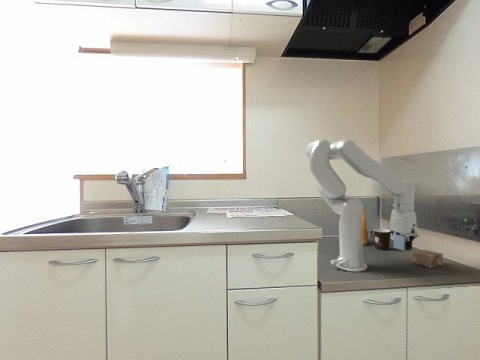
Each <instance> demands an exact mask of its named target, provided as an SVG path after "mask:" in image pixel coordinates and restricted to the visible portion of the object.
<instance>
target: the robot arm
mask: <svg viewBox="0 0 480 360" xmlns="http://www.w3.org/2000/svg"><path fill="white" fill-rule="evenodd" d="M305 155H306V156H307V157H308V158H309V169H310V171H311V174H312V175H313V177H314V178H315V180H316V181H317V183H318V184H317V190H318V192H319V194H320V196H321V198H322V199H323V200H324V201H325V202H326V203H327V205H328V206H329V207H330V209H331V210H332V211H333V212H334V213H335V214H338V215H340V218H339V221H338V233H339V234H338V235H339V237H338V240H339V241H338V242H339V244H338V245H339V255H338V256H337V258H336V259H331V260H330V264H331V265H336V267H337V268H338V269H340V270H344V271H348V272H364V271H366V270H367V269H368V265H367V263H365V262H364V254H363V251H364V249H363V247H364V245H363V244H362V218H363V211H364V210H365V207H364V204H363V202H362V201H361V200H360V199H359V198H357V197H355V196H353V195H352V196H351V195H346V192H347V186H346V184H345V182H344V180H342V179H341V177H340V176H339V175H338V173H337V172H336V171H335V170H334V168H333V167H332V165H331V163H330V160H331V161H332V160H342V161H344V162H345V163H346V164H347V165H348V166H350V168H352V169H353V171H355V172H356V173H357V174H359V175H361V176H363V177H366V178H369V179H371V180H373V181H376V182H375V184H374V190H375V192H376V193H377V194H379V195H381V196H385V197H386V196H387V197H394V202H393V204H392V207H393V209H392V211H391V213H390V218H389V219H390V220H389V226H388V229H387V230H390V232H391V234H392V235H391V236H392V237H393V238H394V234H404V235H406V239H407V241H405V250H404V251H412V250H413V241H415V239H416V238H418V237H420V233H419V231H418V229H417V228H418V226H417V225H418V224H417V216H416V215H417V214H416V211H415V189H416V185H415V184H416V183H415V181H414V180H411V179H402V178H401V177H400V176H399V175H398V174H397V173H395V172H394V171H393V170H392V169H390V168H388V167H387V166H385V165H383V164H382V163H380V162H378V161H377V160H374V159H373V158H372V157H371V156H370V155H369V154H367V153H366V152H365V151H364V150H363V149H362V148H361V147H360V146H359V145H358V144H356V143H355V142H354V141H353V140H351V139H350V138H343V139H340V140H337V141H329V140H328V139H325V138H319V139H316V140H313V141H312V142H310V143H308V144H307V145H306V148H305ZM363 207H364V208H363ZM409 236H410V237H409ZM411 249H412V250H411Z"/></svg>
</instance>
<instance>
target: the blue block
mask: <svg viewBox="0 0 480 360" xmlns="http://www.w3.org/2000/svg"><path fill="white" fill-rule="evenodd" d="M409 237H410V235H409ZM405 241H407V239H406V235H405V234H403V233H400V234H394V237H393V246H392V247H393V248H394V249H397V250H399V251H400V250H401V251H406V250H405ZM410 251H413V248H412V249H411V250H410Z"/></svg>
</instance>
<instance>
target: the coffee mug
mask: <svg viewBox="0 0 480 360" xmlns="http://www.w3.org/2000/svg"><path fill="white" fill-rule="evenodd" d="M391 234H392V233H391V232H390V230H389V229H387V228H386V229H385V228H374V229H372V230H370V236H371V237H372V239H373V240H374V245H375V249H376V250H379V251H390V246H391V245H390V243H391V236H392V235H391Z"/></svg>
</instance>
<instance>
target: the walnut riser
mask: <svg viewBox="0 0 480 360" xmlns="http://www.w3.org/2000/svg"><path fill="white" fill-rule="evenodd" d="M411 253H412V255H411V258H412V259H411V260H412V263H414V264H417V265H421V266H423V267H426V268H435V267H439V266H441V267H442V266H443V265H444V255H443V253H441V252H438V251H433V250H429V249H427V248H425V249H424V248H423V249H417V250H411Z"/></svg>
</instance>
